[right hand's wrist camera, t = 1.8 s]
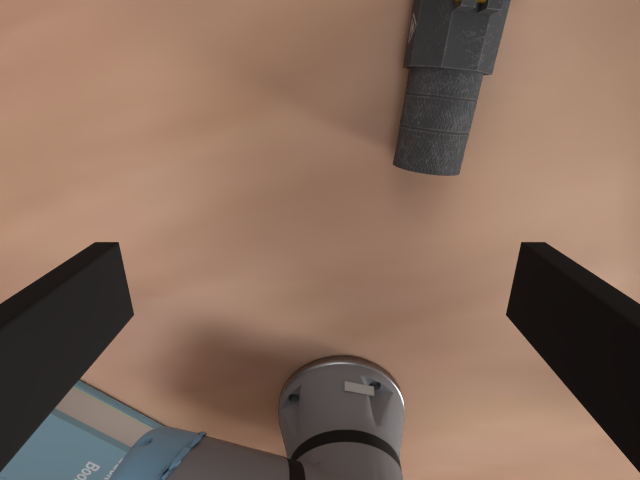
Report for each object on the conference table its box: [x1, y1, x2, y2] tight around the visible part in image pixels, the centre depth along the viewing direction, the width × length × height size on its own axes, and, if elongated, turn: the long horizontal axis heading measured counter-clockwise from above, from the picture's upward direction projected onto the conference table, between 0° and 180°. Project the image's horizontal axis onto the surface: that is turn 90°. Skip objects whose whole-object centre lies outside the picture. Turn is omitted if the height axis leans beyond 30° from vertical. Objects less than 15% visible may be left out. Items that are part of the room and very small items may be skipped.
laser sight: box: [393, 0, 510, 176], centre depth 26 cm, size 10×22×10 cm, turn 174°
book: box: [0, 380, 165, 480], centre depth 46 cm, size 23×16×5 cm
